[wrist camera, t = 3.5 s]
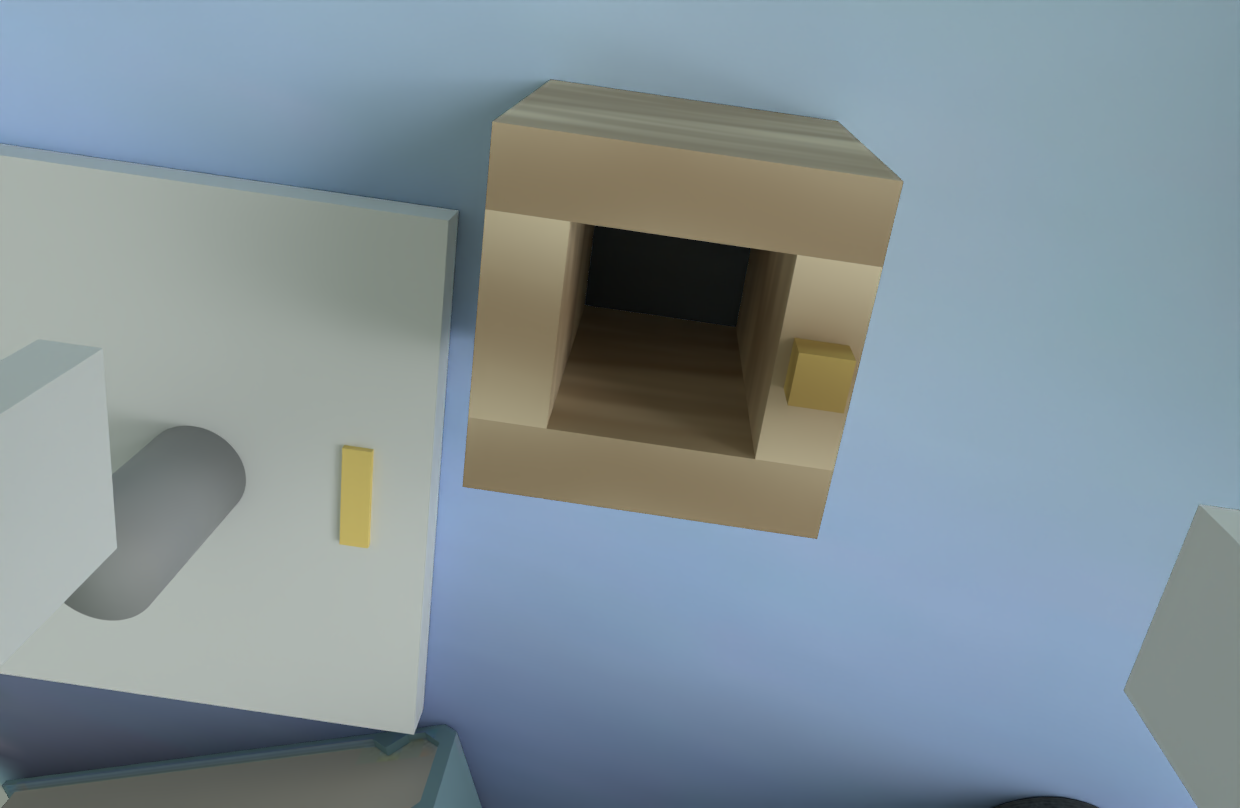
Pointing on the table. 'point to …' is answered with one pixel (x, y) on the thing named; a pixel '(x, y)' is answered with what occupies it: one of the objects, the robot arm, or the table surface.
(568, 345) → the wooden cubby shelf
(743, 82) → the table surface
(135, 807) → the book
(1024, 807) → the coffee cup
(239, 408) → the plate
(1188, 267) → the table surface
